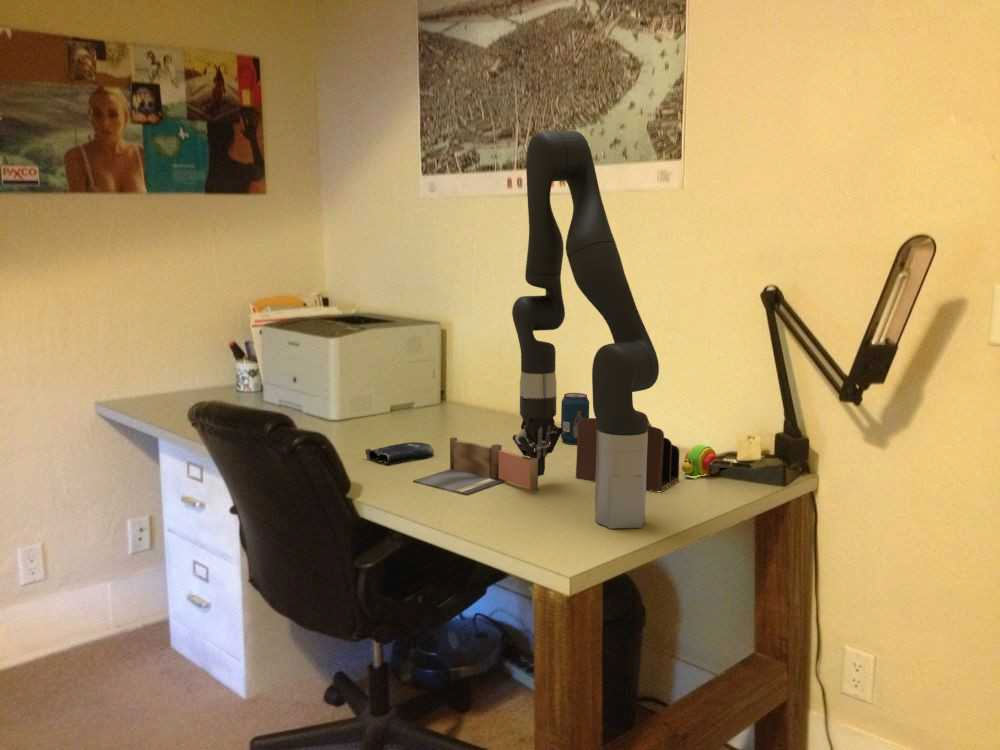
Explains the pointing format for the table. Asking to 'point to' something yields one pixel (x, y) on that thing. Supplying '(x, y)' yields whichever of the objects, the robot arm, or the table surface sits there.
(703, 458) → the toy measuring tape
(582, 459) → the letter holder
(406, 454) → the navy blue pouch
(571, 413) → the soda can
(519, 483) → the swing panel
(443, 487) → the grey and brown panels
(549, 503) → the table surface
